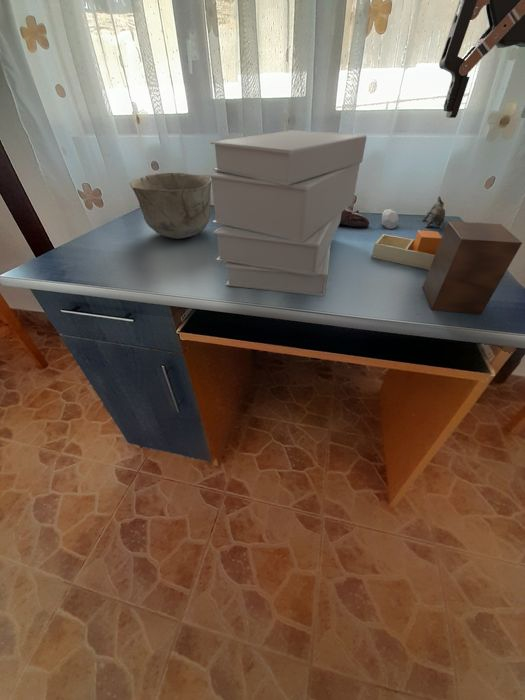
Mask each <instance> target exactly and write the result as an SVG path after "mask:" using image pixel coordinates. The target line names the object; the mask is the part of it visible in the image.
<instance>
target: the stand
mask: <svg viewBox="0 0 525 700" xmlns="http://www.w3.org/2000/svg"><path fill="white" fill-rule="evenodd" d="M443 230H444V231H443V232H442V236H441V237H442V238H441V241H440V243H439V246H438V248H437V251H436V254H435V256H434V259H433V261H432V264H431V266H430V269H429V270H428V272H427V274H426V277H425V279H424V282H423V284H422V290H423V293H424V296H425V298H426V300H427V303H428V306H429V308H430V310H431V311H437V312H438V311H439V312H447V313H460V314H471V315H480V316H482V314H483V312H484V311H485V308H486V307H487V306H488V304H489V302H490V300H491V298H492V297H493V295H494V294H495V292H496V290H497V288H498V286H499V284H500V283H501V281H502V280H503V278H504V276H505V274H506V272H507V271H508V269H509V267H510V265H512V262H513V259H514V258H515V257H516V255H517V253H518V252H519V250H520V248H521V246H522V245H523V242H522V241H521V240H520V239H519V238H517V236H515V235H514V234H513V233H512V232H511V231H509V230H508V229H507V228H505V226H503V225H502V224H501V223H486V222H469V221H467V222H466V221H449V220H448V221H447V223H446V226H445V228H444V229H443Z"/></svg>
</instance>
